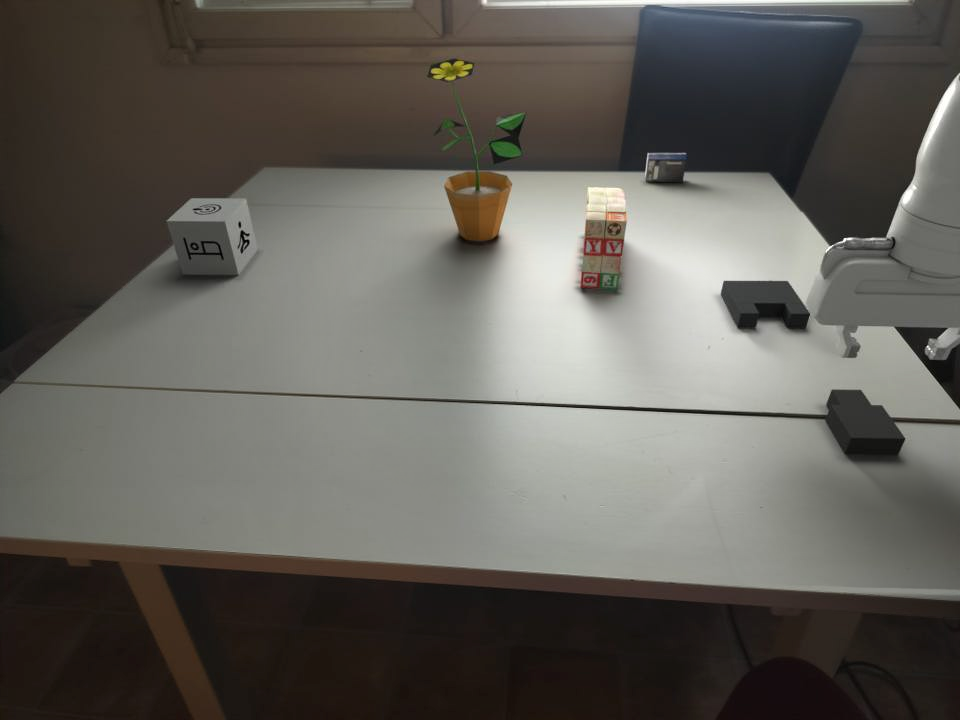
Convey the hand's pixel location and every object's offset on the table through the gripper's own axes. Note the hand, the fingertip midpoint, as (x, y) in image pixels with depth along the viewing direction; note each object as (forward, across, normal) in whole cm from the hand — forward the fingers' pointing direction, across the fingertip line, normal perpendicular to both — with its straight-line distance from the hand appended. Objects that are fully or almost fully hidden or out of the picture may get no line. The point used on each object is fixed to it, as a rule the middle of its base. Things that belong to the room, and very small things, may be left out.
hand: (889, 355), depth 72 cm
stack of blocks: (+12, -26, +46) cm, 54 cm away
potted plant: (+13, -48, +57) cm, 75 cm away
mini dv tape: (+12, -8, +85) cm, 86 cm away
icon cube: (+13, -94, +45) cm, 105 cm away
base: (+12, -3, +29) cm, 31 cm away
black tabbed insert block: (+12, 0, +1) cm, 12 cm away
